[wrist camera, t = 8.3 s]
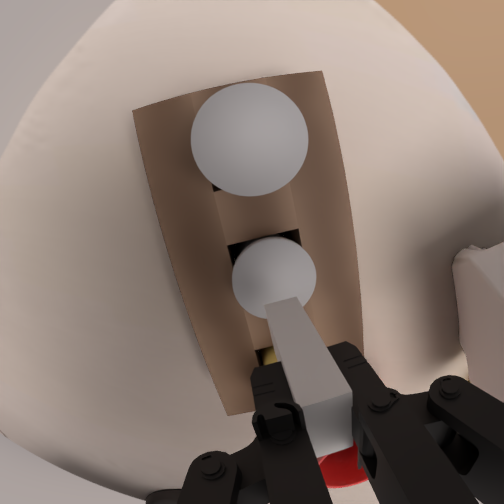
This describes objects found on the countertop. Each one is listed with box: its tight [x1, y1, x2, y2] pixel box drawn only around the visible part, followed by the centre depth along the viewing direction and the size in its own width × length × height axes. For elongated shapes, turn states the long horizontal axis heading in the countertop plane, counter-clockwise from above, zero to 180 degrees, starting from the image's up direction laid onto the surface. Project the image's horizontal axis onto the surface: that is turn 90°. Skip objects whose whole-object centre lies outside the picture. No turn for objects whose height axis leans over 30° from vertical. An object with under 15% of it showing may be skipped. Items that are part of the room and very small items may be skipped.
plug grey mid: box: [232, 233, 316, 319], centre depth 21 cm, size 5×5×7 cm
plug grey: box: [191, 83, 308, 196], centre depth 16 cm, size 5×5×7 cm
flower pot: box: [317, 439, 368, 488], centre depth 27 cm, size 11×11×10 cm
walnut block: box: [132, 71, 364, 416], centre depth 23 cm, size 12×24×6 cm, turn 13°
